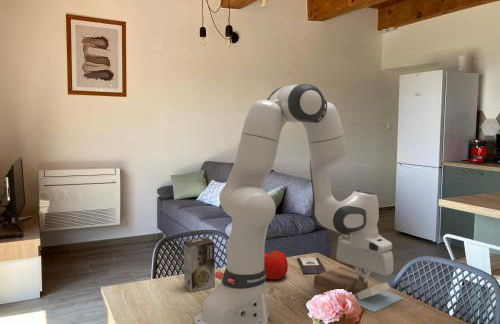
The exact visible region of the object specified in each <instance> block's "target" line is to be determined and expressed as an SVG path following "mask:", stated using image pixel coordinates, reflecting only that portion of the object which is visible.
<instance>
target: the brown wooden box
mask: <svg viewBox="0 0 500 324" xmlns="http://www.w3.org/2000/svg"><path fill="white" fill-rule="evenodd" d="M313 275H314V276H313V287H314V288H315V289H316V288H317V289H319V290H321V291H324V292H326V291H330V290H334V289H344V290H346V291H348V292H352V294H355V293H357V292H360V291H362V290H365V289H367V288H369V286H368V283H369V281H368V282H363V281H360V280H358V275H357V273H356V271H355V270H354V271H353V270H351V269H348V268H344V267H343V266H339V267H337V268H333V269H330V270H326V272H323V273H320V274H313Z"/></svg>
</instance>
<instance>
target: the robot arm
mask: <svg viewBox="0 0 500 324" xmlns="http://www.w3.org/2000/svg"><path fill="white" fill-rule="evenodd" d="M336 107H337V106H335V105H334V104H333V103H332V102H329V101H327V100H326V99H325V97H324V95H323V93H322V91H321V90H320V89H319V87H317V86H315V85H313V84H309V83H301V84H288V85H285V86H282V87H278V88H277V89H274V90H273V92H271V94H270V95H269V97H268V98H267V99H258V100H255V101H254V102H253V103H252V104H251V106H250V108H249V110H248V112H247V114H246V118H245V121H244V124H243V127H242V131H241V135H240V138H239V139H240V140H239V143H238V146H237V147H238V148H237V152H236V155H235V160H234V163H233V166H232V168H231V171H230V173H229V175H228V177H227V180H226V183H225V185H224V186H223V187H222V188H221V190H220V193H219V196H218V197H219V203H220V206H221V209H222V210H223V211H224V213H226V214H227V216H229V217H231V221H232V224H231V229H230V234H229V237H228V239H227V241H226V267H225V269H224V271H223V272H221V271H220V270H217V271H215V279H218V280H221V282H220V283H219V284H218V285H217V286H216V288H215V289H213V291H211V293H210V294H209V295H208V296H207V297H206V298H204V300H203V304H202V309H201V313H198V314H197V315H195V316H194V317H193V318H194V319H193V322H194V323H193V324H269V319H270V317H271V315H270V314H271V313H270V310H269V306H268V302H267V296H266V287H265V286H266V285H265V282H266V280H267V279H266V269H265V267H264V253H265V249H266V248H265V247H266V246H265V244H266V237H267V233H268V230H269V229H268V228H269V225H270V223H271V222H272V221H273V220H274V217H275V215H276V212H277V211H276V209H277V208H276V207H277V206H276V203H275V201H274V199H273V198H272V197H271V195H270V194H269V193H268V192H267V191H266V190H264V189H262V187H263V184H264V182H265V180H266V179H267V177H268V175H269V173H270V172H271V171H272V170H273V168H274V166H275V165H274V164H275V161H276V156H277V151H278V148H279V147H278V146H279V142H280V138H281V132H282V129H283V128H284V126H285V124H286V123H288V122H289V123H301V124H302V125H303V127H304V129H305V131H306V136H307V137H306V138H307V142H308V147H309V156H310V160H309V170H310V171H309V172H310V180H311V190H312V191H311V192H312V203H311V211H310V213H311V218H312V220H313V222H314V223H315V224H316V225H317V226H318V227H323V228H326V229H329V230H331V231H333V232H336V233H339V234H341V235H339V236H338V239H337V247H336V255H335V257H336V260H337V261H338V262H341V263H343V264H347V265H350V266H353V267H354V272H356V273H357V275H358V280H360V281H363V282H368V283H369V276H371V274H372V273H375V274H378V275H381V276H384V277H387V276H389V275H391V274H392V273H393V272H394V266H395V265H394V254H393V252H392V251H391V250H392V249H393V243H392V242H391V241H390V240H388V239H386V238H385V237H383V236H382V235H380V234H379V229H378V222H379V219H380V217H379V215H380V213H379V211H380V210H379V209H380V208H379V199H378V196H377V195H376V194H375V193H374V192H370V191H365V190H361V189H360V190H359V189H358V190H357V189H356V190H353V191H352V193H351V195H349V196H348V197H347V198H345V199H343V200H340V201H339V200H337V198H335V197H334V195H333V194H332V184H331V176H330V175H331V169H332V168H333V167H335V166H336V165H338V164H339V163H340V162H341V161H342V160H343V159H344V157H345V156H346V151H347V148H346V138H345V132H344V128H343V124H342V121H341V117H340V115H339V112H338V109H337V108H336ZM362 270H363V272H362ZM363 273H365V274H363Z"/></svg>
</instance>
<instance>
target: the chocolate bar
mask: <svg viewBox="0 0 500 324" xmlns="http://www.w3.org/2000/svg"><path fill="white" fill-rule="evenodd" d="M296 260H297V263H298V265H299V267H300V270H301V271H302V274H303V275H304V276H305V275H306V276H307V275H317V274H320V273H323V272H326V271H327V270H326V268H325V267H324V265H323V263H322V261H321V260H320V258H319V257H296Z"/></svg>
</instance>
